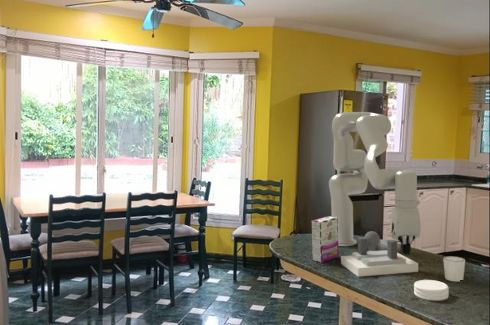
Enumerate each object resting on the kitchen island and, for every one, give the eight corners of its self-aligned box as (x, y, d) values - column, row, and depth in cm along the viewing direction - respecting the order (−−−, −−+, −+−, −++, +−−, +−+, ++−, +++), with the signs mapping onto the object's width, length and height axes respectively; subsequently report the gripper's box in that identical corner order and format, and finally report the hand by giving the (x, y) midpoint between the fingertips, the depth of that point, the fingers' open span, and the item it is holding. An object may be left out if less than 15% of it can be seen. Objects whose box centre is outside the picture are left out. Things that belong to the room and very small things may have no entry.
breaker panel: (341, 263, 179) (340, 237, 178) (396, 259, 183) (396, 233, 182) (358, 276, 163) (357, 247, 162) (418, 271, 167) (418, 243, 166)
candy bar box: (329, 255, 192) (328, 215, 191) (339, 257, 188) (338, 217, 187) (311, 260, 184) (310, 219, 183) (321, 263, 181) (320, 221, 180)
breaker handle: (387, 256, 170) (387, 240, 170) (393, 255, 171) (393, 239, 170) (391, 258, 168) (391, 242, 167) (397, 257, 168) (397, 241, 168)
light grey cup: (448, 274, 163) (448, 254, 163) (468, 278, 158) (468, 258, 158) (439, 279, 159) (439, 258, 158) (460, 283, 154) (460, 262, 153)
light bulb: (380, 257, 186) (380, 233, 185) (364, 257, 187) (364, 232, 187) (379, 253, 192) (378, 229, 191) (364, 253, 193) (363, 229, 192)
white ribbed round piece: (438, 289, 149) (438, 278, 149) (455, 300, 140) (455, 289, 139) (408, 290, 148) (408, 280, 148) (423, 302, 139) (423, 291, 138)
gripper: (419, 201, 174) (418, 249, 175) (381, 203, 171) (382, 252, 173) (430, 205, 166) (430, 255, 168) (391, 207, 164) (391, 258, 165)
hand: (405, 253), depth 170 cm, fingers closed
